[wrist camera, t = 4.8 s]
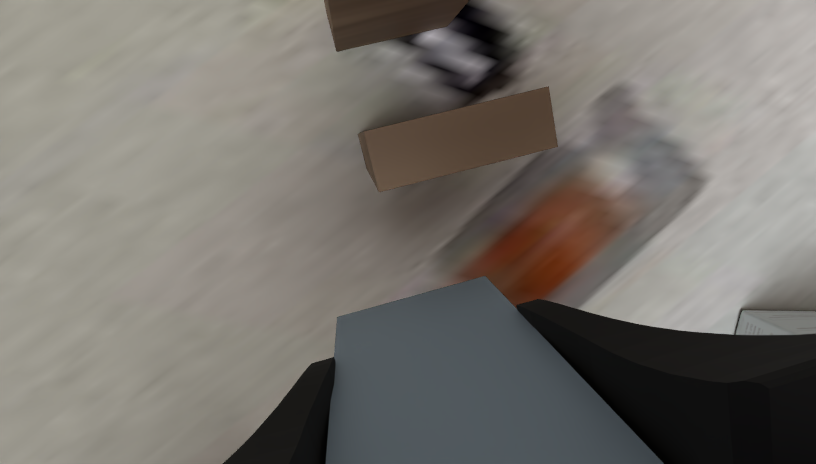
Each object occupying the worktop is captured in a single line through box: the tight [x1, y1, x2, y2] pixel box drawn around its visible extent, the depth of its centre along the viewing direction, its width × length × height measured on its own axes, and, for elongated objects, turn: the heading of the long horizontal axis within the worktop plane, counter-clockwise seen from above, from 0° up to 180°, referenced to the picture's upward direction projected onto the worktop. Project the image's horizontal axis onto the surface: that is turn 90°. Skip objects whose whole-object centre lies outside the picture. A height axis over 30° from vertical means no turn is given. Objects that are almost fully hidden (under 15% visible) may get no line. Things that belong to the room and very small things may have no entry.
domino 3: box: [326, 276, 664, 464], centre depth 10 cm, size 2×5×9 cm, turn 103°
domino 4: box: [358, 86, 558, 192], centre depth 16 cm, size 2×5×9 cm, turn 103°
